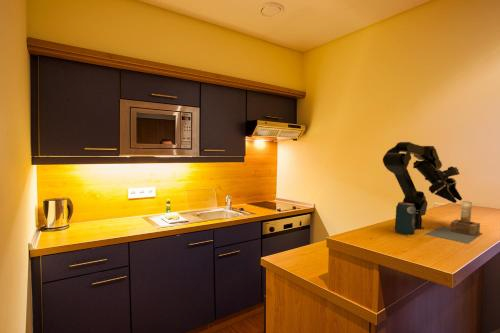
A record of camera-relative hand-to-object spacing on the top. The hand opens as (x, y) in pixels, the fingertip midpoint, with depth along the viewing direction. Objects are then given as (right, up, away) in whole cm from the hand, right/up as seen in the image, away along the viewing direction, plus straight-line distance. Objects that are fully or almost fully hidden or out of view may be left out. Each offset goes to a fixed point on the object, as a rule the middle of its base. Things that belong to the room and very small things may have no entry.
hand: (458, 201), depth 118 cm
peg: (+2, -13, -1) cm, 13 cm away
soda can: (-24, -13, -3) cm, 28 cm away
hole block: (+2, -13, -1) cm, 13 cm away
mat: (-5, -13, -4) cm, 14 cm away
